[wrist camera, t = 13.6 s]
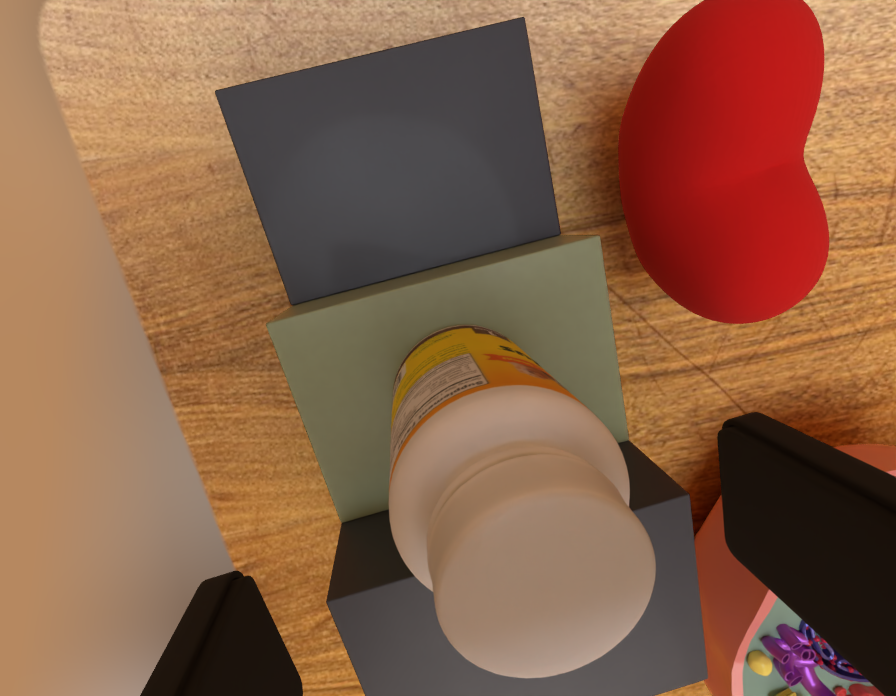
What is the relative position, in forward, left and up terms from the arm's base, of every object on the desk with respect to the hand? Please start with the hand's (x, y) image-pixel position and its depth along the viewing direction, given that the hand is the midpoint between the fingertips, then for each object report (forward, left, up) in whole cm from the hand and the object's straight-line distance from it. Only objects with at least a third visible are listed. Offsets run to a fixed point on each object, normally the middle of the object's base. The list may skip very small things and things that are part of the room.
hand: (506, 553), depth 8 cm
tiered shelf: (+1, 0, -16) cm, 16 cm away
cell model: (+19, -19, -16) cm, 31 cm away
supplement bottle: (0, 0, -9) cm, 9 cm away
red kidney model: (+12, +5, -16) cm, 21 cm away
